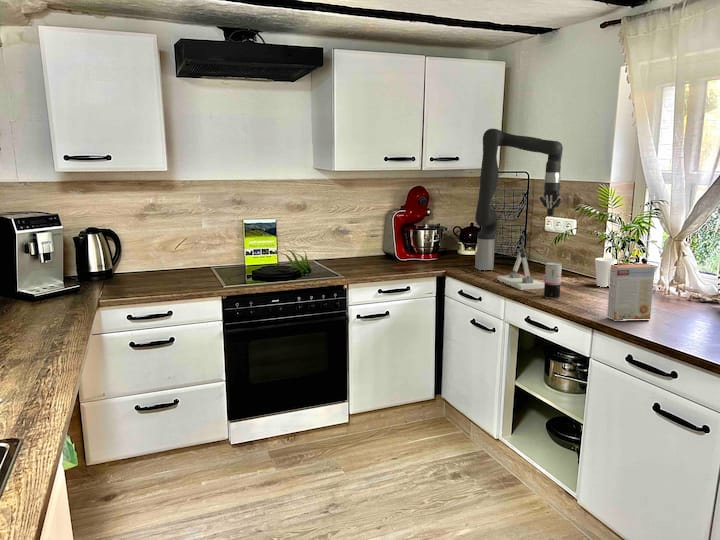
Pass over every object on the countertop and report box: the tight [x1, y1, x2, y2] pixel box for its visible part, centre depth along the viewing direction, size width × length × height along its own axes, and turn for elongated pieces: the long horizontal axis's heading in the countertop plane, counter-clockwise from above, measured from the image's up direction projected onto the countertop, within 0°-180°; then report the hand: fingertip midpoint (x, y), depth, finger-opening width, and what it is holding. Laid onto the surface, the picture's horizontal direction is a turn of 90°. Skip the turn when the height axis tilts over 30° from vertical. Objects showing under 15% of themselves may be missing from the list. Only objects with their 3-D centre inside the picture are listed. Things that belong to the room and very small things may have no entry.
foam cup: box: [594, 257, 618, 288], centre depth 257 cm, size 10×9×13 cm
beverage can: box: [543, 261, 562, 300], centre depth 238 cm, size 6×7×15 cm
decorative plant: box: [275, 243, 313, 275], centre depth 297 cm, size 18×30×15 cm, turn 21°
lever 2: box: [520, 252, 531, 278], centre depth 257 cm, size 3×3×13 cm
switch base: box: [496, 272, 545, 291], centre depth 265 cm, size 13×22×4 cm, turn 15°
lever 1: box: [511, 247, 526, 273], centre depth 269 cm, size 3×3×13 cm
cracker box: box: [606, 263, 655, 320], centre depth 203 cm, size 14×6×21 cm, turn 92°
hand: (550, 215), depth 278 cm, fingers closed
